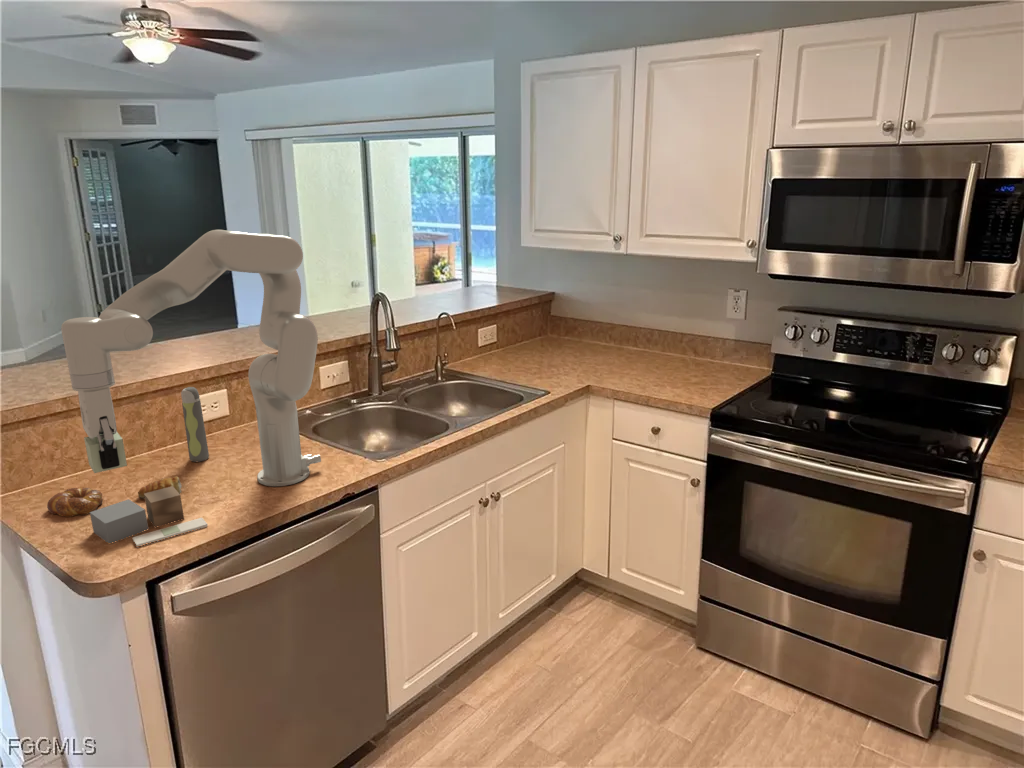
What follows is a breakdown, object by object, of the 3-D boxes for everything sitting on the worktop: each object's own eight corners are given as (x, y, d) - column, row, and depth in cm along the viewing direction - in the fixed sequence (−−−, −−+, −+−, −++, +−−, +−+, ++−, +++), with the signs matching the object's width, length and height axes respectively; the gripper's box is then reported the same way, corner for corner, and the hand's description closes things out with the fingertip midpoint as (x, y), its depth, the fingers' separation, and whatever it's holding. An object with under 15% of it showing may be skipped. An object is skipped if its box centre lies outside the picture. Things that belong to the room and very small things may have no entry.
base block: (132, 519, 157) (128, 499, 156) (148, 530, 152) (145, 509, 151) (93, 533, 151) (89, 512, 150) (109, 545, 146) (105, 523, 145)
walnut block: (176, 510, 161) (172, 486, 159) (184, 519, 157) (180, 494, 155) (148, 518, 157) (143, 493, 156) (155, 528, 153) (150, 502, 151)
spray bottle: (193, 455, 192) (183, 385, 186) (212, 455, 192) (202, 385, 186) (186, 462, 187) (175, 390, 182) (205, 462, 188) (195, 390, 182)
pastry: (138, 504, 165) (136, 489, 163) (139, 493, 170) (136, 478, 169) (182, 496, 168) (180, 481, 167) (181, 485, 174) (179, 471, 173)
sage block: (120, 457, 151) (116, 431, 149) (127, 465, 147) (122, 438, 145) (89, 464, 148) (84, 437, 146) (94, 473, 143) (89, 445, 141)
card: (202, 519, 156) (201, 517, 156) (207, 526, 153) (207, 523, 153) (132, 540, 148) (132, 537, 148) (137, 547, 145) (136, 544, 145)
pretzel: (113, 507, 163) (110, 492, 162) (60, 524, 155) (57, 509, 154) (93, 492, 171) (90, 478, 170) (42, 508, 163) (39, 494, 162)
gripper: (64, 373, 146) (79, 454, 151) (78, 392, 133) (95, 480, 138) (105, 367, 151) (118, 446, 156) (122, 385, 138) (137, 470, 143)
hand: (107, 461), depth 147 cm, fingers closed on sage block, 6 cm apart
